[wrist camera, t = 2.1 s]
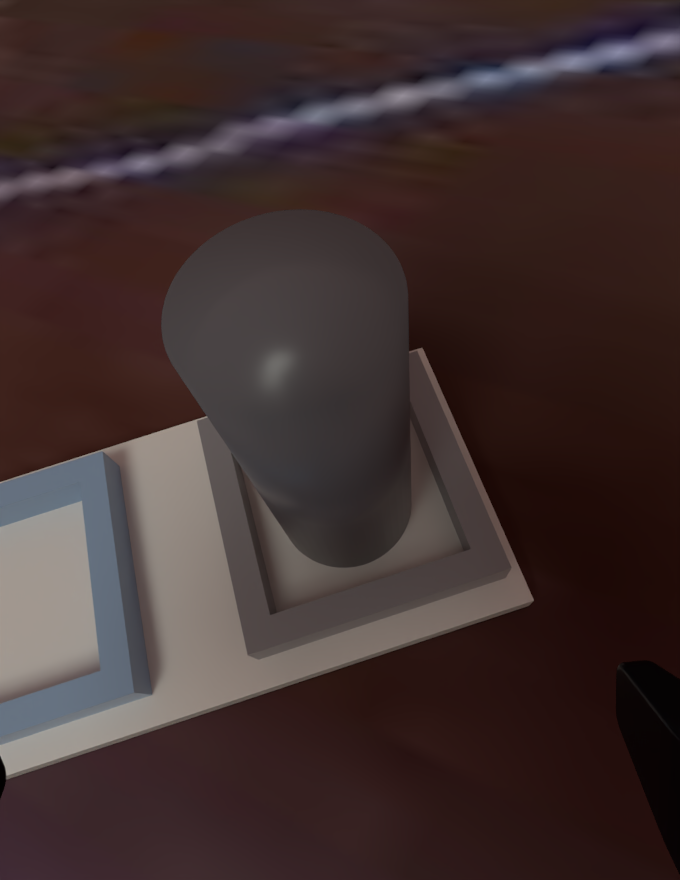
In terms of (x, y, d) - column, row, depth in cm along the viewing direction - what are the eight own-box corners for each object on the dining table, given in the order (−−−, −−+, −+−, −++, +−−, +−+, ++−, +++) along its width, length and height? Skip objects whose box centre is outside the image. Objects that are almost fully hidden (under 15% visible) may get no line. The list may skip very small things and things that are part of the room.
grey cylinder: (384, 587, 21) (353, 446, 11) (258, 540, 23) (115, 371, 12) (429, 464, 23) (442, 236, 12) (310, 427, 24) (228, 190, 14)
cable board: (422, 360, 26) (422, 326, 24) (529, 605, 21) (542, 591, 19) (-90, 524, 26) (-139, 504, 23) (-99, 814, 21) (-161, 825, 19)
